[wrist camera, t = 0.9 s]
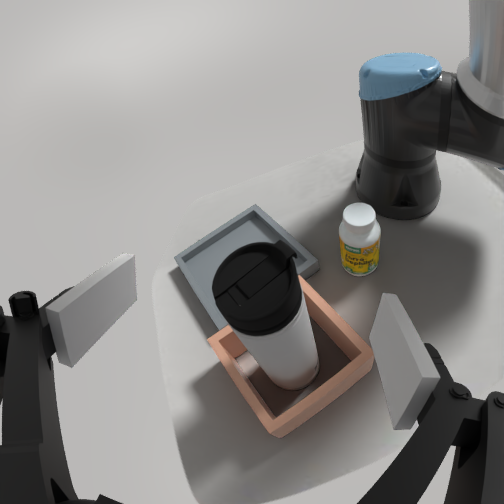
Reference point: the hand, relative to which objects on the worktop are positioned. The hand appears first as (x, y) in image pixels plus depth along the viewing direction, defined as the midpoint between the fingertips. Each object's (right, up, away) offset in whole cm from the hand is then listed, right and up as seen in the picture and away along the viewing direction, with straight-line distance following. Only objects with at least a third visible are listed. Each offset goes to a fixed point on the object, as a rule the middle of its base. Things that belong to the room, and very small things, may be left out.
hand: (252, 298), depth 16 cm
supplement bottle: (+15, +1, +27) cm, 31 cm away
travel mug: (+5, -11, +20) cm, 24 cm away
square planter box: (+5, -11, +20) cm, 24 cm away
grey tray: (-1, 0, +32) cm, 32 cm away
